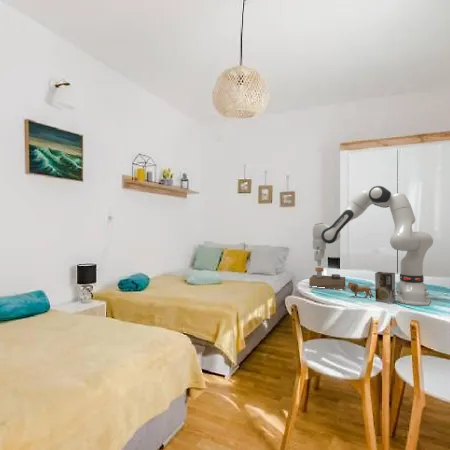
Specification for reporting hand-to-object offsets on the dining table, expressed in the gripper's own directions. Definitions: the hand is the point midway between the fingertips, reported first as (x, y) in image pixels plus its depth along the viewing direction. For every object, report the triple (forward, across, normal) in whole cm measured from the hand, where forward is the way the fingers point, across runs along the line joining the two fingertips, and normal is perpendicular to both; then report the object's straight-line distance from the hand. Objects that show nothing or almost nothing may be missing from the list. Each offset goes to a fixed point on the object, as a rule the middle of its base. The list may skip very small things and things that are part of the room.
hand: (319, 265), depth 222 cm
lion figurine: (+14, -24, -27) cm, 39 cm away
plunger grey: (+14, 0, -11) cm, 18 cm away
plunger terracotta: (+10, 0, 0) cm, 10 cm away
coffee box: (+14, -28, -41) cm, 51 cm away
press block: (+14, 0, -6) cm, 15 cm away
